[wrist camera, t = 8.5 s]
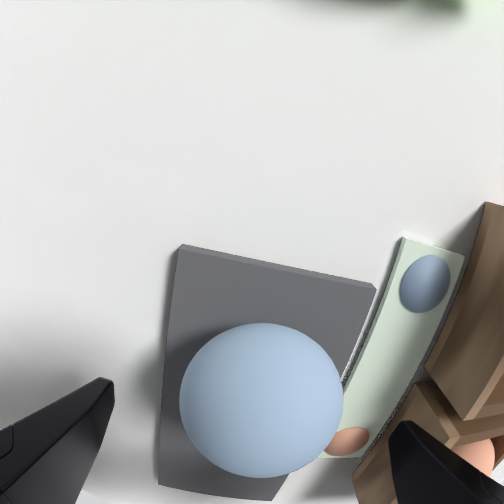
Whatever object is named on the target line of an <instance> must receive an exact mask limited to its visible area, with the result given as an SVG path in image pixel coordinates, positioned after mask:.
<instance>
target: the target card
mask: <svg viewBox="0 0 504 504" xmlns="http://www.w3.org/2000/svg"><path fill="white" fill-rule="evenodd" d="M464 259H465V256H463V255H461V254H458V253H455V252H452V251H449V250H445V249H442V248H439V247H436V246H432V245H429V244H426V243H422V242H419V241H415V240H412V239H409V238H405V237H403V238H402V241H401V244H400V248H399V251H398V254H397V257H396V260H395V263H394V266H393V269H392V272H391V275H390V278H389V281H388V284H387V286H386V289H385V292H384V295H383V297H382V300H381V303H380V305H379V308H378V311H377V313H376V316H375V318H374V321H373V323H372V326H371V328H370V331H369V333H368V335H367V338H366V340H365V342H364V345H363V347H362V349H361V352H360V354H359V356H358V358H357V361H356V363H355V365H354V367H353V369H352V371H351V374H350V376H349V378H348V380H347V382H346V384H345V386H344V388H343V401H344V402H343V411H342V417H341V420H340V423H339V426H338V429H337V431H336V433H335V435H334V437H333V438H332V440H331V442H330V443H329V445H328V446H327V447H326V448H325V449H324V450H323V451H322V453H321V454H320V455H319V456H318V457H317V458H357V457H362V456H363V454H364V453H365V452H366V450H367V449H368V448H369V446H370V445H371V443H372V442H373V440H374V439H375V438H376V436H377V435H378V433H379V432H380V430H381V429H382V427H383V426H384V424H385V423H386V421H387V420H388V418H389V417H390V415H391V413H392V412H393V410H394V409H395V407H396V405H397V404H398V402H399V401H400V399H401V397H402V395H403V394H404V392H405V390H406V389H407V387H408V385H409V383H410V382H411V380H412V378H413V376H414V374H415V372H416V371H417V369H418V367H419V365H420V363H421V361H422V359H423V357H424V355H425V353H426V351H427V349H428V347H429V345H430V343H431V341H432V339H433V337H434V335H435V332H436V330H437V328H438V326H439V324H440V321H441V319H442V317H443V314H444V312H445V310H446V307H447V305H448V302H449V300H450V297H451V295H452V292H453V290H454V287H455V284H456V282H457V279H458V276H459V273H460V271H461V268H462V265H463V262H464Z"/></svg>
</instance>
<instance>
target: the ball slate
mask: <svg viewBox="0 0 504 504" xmlns="http://www.w3.org/2000/svg"><path fill="white" fill-rule="evenodd" d="M343 402H344V401H343V388H342V383H341V380H340V376H339V373H338V371H337V369H336V367H335V365H334V363H333V361H332V359H331V358H330V357H329V356H328V354H327V353H326V352H325V351H324V349H323V348H322V347H321V346H320V345H319V344H317V343H316V342H315V341H314V340H312V339H311V338H309V337H308V336H307V335H305V334H303V333H301V332H299V331H297V330H295V329H292V328H289V327H286V326H282V325H278V324H271V323H253V324H246V325H241V326H238V327H235V328H232V329H229V330H227V331H225V332H223V333H221V334H219V335H217V336H216V337H214V338H212V339H211V340H210V341H209V342H208V343H206V344H205V345H204V346H203V347H202V348H201V349H200V350H199V351H198V352H197V353H196V355H195V356H194V358H193V359H192V361H191V362H190V364H189V365H188V367H187V370H186V372H185V374H184V377H183V379H182V384H181V389H180V397H179V405H180V414H181V418H182V423H183V425H184V428H185V430H186V432H187V435H188V437H189V438H190V440H191V442H192V443H193V444H194V446H195V447H196V448H197V449H198V451H199V452H200V453H201V454H202V455H203V456H205V457H206V458H207V459H208V460H209V461H210V462H212V463H213V464H215V465H216V466H218V467H220V468H222V469H224V470H226V471H228V472H231V473H233V474H237V475H241V476H246V477H252V478H269V477H276V476H281V475H285V474H288V473H291V472H294V471H296V470H298V469H300V468H302V467H304V466H305V465H307V464H308V463H310V462H311V461H313V460H314V459H315V458H317V457H318V456H319V455H320V454H321V453H322V451H323V450H324V449H325V448H326V447H327V446H328V445H329V443H330V442H331V440H332V438H333V437H334V435H335V433H336V431H337V429H338V426H339V423H340V420H341V417H342V411H343Z"/></svg>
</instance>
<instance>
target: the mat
mask: <svg viewBox="0 0 504 504" xmlns="http://www.w3.org/2000/svg"><path fill="white" fill-rule="evenodd" d="M376 290H377V289H376V288H375V287H374V286H373V285H372V284H371V283H367V282H362V281H357V280H352V279H347V278H342V277H337V276H333V275H328V274H323V273H318V272H313V271H308V270H304V269H299V268H294V267H289V266H284V265H280V264H275V263H270V262H265V261H260V260H256V259H251V258H246V257H241V256H237V255H232V254H227V253H223V252H218V251H213V250H208V249H204V248H199V247H194V246H190V245H185V244H182V246H181V247H180V248H179V252H178V258H177V265H176V272H175V279H174V286H173V293H172V301H171V309H170V317H169V326H168V335H167V344H166V354H165V365H164V377H163V389H162V403H161V420H160V441H159V476H158V484H159V485H163V486H167V487H172V488H176V489H181V490H186V491H191V492H196V493H202V494H208V495H215V496H222V497H230V498H238V499H249V500H262V501H272V500H273V498H274V497H275V495H276V494H277V492H278V490H279V489H280V487H281V486H282V484H283V483H284V481H285V480H286V478H287V476H288V475H289V473H288V474H285V475H281V476H276V477H269V478H252V477H246V476H241V475H237V474H233V473H231V472H228V471H226V470H224V469H222V468H220V467H218V466H216V465H215V464H213V463H212V462H210V461H209V460H208V459H207V458H206V457H205V456H203V455H202V454H201V453H200V452H199V451H198V449H197V448H196V447H195V446H194V444H193V443H192V442H191V440H190V438H189V437H188V435H187V432H186V430H185V428H184V425H183V423H182V418H181V414H180V405H179V397H180V389H181V384H182V379H183V377H184V374H185V372H186V370H187V367H188V365H189V364H190V362H191V361H192V359H193V358H194V356H195V355H196V353H197V352H198V351H199V350H200V349H201V348H202V347H203V346H204V345H205V344H206V343H208V342H209V341H210V340H211V339H212V338H214V337H216V336H217V335H219V334H221V333H223V332H225V331H227V330H229V329H232V328H235V327H238V326H241V325H246V324H253V323H271V324H278V325H282V326H286V327H289V328H292V329H295V330H297V331H299V332H301V333H303V334H305V335H307V336H308V337H309V338H311V339H312V340H314V341H315V342H316V343H317V344H319V345H320V346H321V347H322V348H323V349H324V351H325V352H326V353H327V354H328V356H329V357H330V358H331V359H332V361H333V363H334V365H335V367H336V369H337V371H338V373H339V376H340V378H341V376H342V374H343V372H344V369H345V367H346V365H347V363H348V360H349V358H350V356H351V354H352V351H353V349H354V347H355V344H356V342H357V339H358V337H359V335H360V332H361V330H362V327H363V325H364V322H365V320H366V317H367V315H368V312H369V309H370V307H371V304H372V301H373V299H374V296H375V293H376Z"/></svg>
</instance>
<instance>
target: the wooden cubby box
mask: <svg viewBox="0 0 504 504" xmlns="http://www.w3.org/2000/svg"><path fill="white" fill-rule="evenodd" d="M402 420H412V421H413V422H415V423H416V424H417V425H419V426H420V427H421V428H423V429H424V430H425V431H427V432H428V433H429V434H431V435H432V436H433V437H435V438H436V439H437V440H439V441H440V442H441V443H443V444H444V445H445V446H447V447H448V448H449V449H451V448H452V447H456V446H461V445H466V444H470V443H474V442H478V441H482V440H486V439H490V440H491V442H492V444H493V447H494V454H495V460H494V466H493V470H494V469H495V467H496V466H497V465H498V464H499V463H500V462H501V461H502V460H503V459H504V414H499V415H494V416H489V417H483V418H478V419H472V420H465V421H463V420H462V419H461V417H460V416H459V415H458V413H457V412H456V410H455V409H454V407H453V406H452V405H451V403H450V402H449V400H448V399H447V398H446V396H445V395H444V393H443V392H442V391H441V389H440V388H439V386H438V385H437V384H436V383H414V385H413V387H412V389H411V390H410V392H409V394H408V395H407V397H406V399H405V400H404V402H403V404H402V405H401V407H400V409H399V410H398V412H397V413H396V415H395V416H394V418H393V419H392V421H391V423H390V424H389V426H388V427H387V429H386V430H385V431H384V433H383V434H382V436H381V437H380V439H379V440H378V441H377V443H376V444H375V446H374V447H373V448H372V450H371V451H370V452H369V454H368V455H367V456H366V458H365V459H364V460H363V462H362V463H361V464H360V466H359V467H358V468H357V469H356V471H355V472H354V473H353V474H352V476H351V477H352V480H353V484H354V487H355V491H356V495H357V498H358V502H359V504H398V503H397V498H396V493H395V489H394V484H393V479H392V472H391V464H390V455H389V448H388V438H389V436H390V434H391V433H392V431H393V430H394V428H395V427H396V425H397V424H398V423H399V422H400V421H402ZM493 470H492V471H493Z"/></svg>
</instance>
